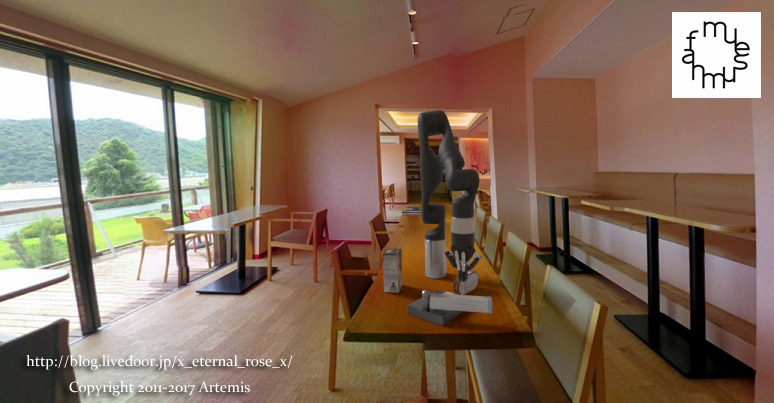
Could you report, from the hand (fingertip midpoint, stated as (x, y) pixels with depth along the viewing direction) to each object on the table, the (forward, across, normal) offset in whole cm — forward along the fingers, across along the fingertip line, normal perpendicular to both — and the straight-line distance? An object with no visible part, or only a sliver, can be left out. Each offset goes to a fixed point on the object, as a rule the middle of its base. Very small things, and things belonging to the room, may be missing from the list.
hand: (462, 280), depth 108 cm
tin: (+12, +8, -18) cm, 23 cm away
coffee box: (+12, +34, -4) cm, 36 cm away
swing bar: (+8, -2, +5) cm, 9 cm away
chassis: (+12, +8, +2) cm, 14 cm away
